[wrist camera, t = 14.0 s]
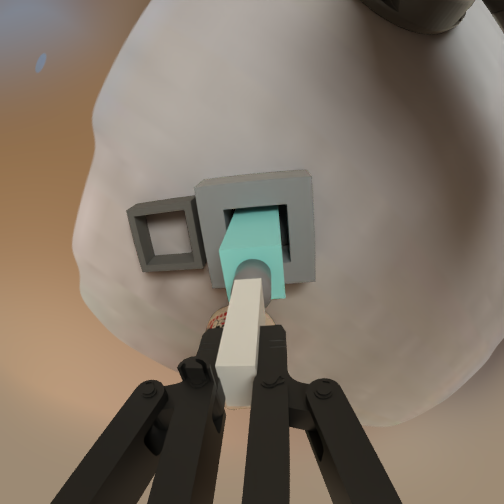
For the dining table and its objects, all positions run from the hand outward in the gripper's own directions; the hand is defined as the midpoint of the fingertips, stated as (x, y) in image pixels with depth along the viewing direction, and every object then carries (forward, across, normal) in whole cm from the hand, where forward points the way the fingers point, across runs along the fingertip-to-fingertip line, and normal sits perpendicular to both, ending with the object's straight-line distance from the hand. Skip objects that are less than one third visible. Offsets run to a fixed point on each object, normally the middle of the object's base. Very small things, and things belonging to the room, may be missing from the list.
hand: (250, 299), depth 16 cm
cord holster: (+14, -10, 0) cm, 17 cm away
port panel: (+14, 0, 0) cm, 14 cm away
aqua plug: (+14, 0, 0) cm, 14 cm away
